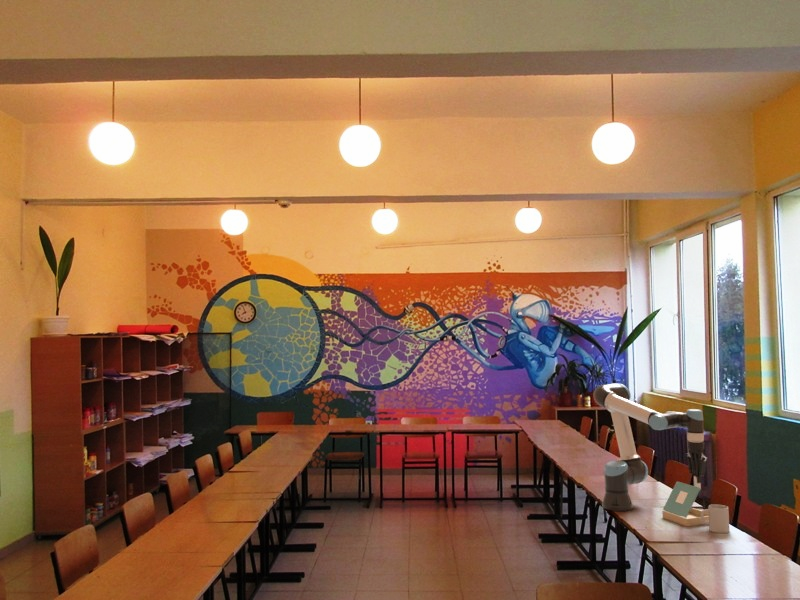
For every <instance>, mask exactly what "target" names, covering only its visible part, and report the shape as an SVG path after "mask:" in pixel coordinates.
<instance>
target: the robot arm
mask: <svg viewBox="0 0 800 600" xmlns="http://www.w3.org/2000/svg"><path fill="white" fill-rule="evenodd" d="M592 396H593V400H594V401H595V403H596V404H597V405H598V406H600V407H601V408H603V409H606V410H607V411H608V412H609V413H610V416H611V419H612V425H613V428H614V433H615V437H616V442H617V446H618V451H619V455H620V457H619V458H618V460H613V461H608V462H607V463H605V465H604V472H603V473H604V488H605V489H604V495H603V500H602V502H601V506H602V508H603V509H604V510H608V511H614V512H628V511H631V510H633V502H632V500H631V496H630V494H629V486H631V485H637V484H640V483H643V482H645V480H646V479H647V477H648V476H649V468H648V465H647V464H646V463H645V462H644V461H643V460H642V458H641V456H640V455H639V454H638V453H637V450H636V449H637V448H636V445H635V444H636V443H635V440H634V437H633V436H634V435H633V431H632V426H631V422H630V419H629V417H630V418H633V419H635V420H638V421H640V422H642V423H645V424H647V425H649V427H651V429H652V430H655V431H663V430H668V429H673V428H674V429H675V428H683V429H686V431H687V432H686V438H687V440H686V441H687V449H688V452H687V453H684V455H685V458H686V460H687V467H688V471H689V474H691V475H692V480H693V486H695V487H699V488H701V489H702V487H701V486H702V477H704V476H705V475H706V469H707V468H706V467H707V462H708V461H709V460H708V459H709V457H708V456H706V455H705V453H704V450H705V442H704V441H705V435H704V433H705V432H704V431H705V430H704V420H705V419H704V414H703V413H704V412H703V411H702V410H701V409H698V408H697V409H696V408H689V409H686V411H685V412H680V411H673V410H671V411H665V413H661V412H659V411H656V410H654V409H651V408H649V407H647V406H644V405H641V404H639V403H638V402H637V403H636V402H634V401H631V400H630V399H631V397H632V396H631V392H630V390H629V388H628V387H627V386H626V385H625V384H622V383H609V384H607V383H606V384H601V385H598V386H597V387H596V388H595V389H594V391H593V395H592Z"/></svg>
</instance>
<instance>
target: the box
mask: <svg viewBox="0 0 800 600" xmlns="http://www.w3.org/2000/svg"><path fill="white" fill-rule="evenodd" d="M661 511H662V513H661V514H662V518H663V519H665V520H668V521H671V522H673V523H676V524H679V525H682V526H684V527H687V528H689V527H695V526H703V525H705V524H704V523H703V522H702V520H701V512H702V511H703V510H700V509H698V508H695V507H691V509H690V511H689V513H688V515H687V517H686V518H685V517H682V516H679V515H677V514H674V513H671V512H668V511H665V510H663V509H662V510H661ZM703 519H704V521H709V513H704V515H703Z"/></svg>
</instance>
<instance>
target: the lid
mask: <svg viewBox="0 0 800 600" xmlns="http://www.w3.org/2000/svg"><path fill="white" fill-rule="evenodd" d="M701 490H702V487H701V488H699V487H695V486H694V485H691V484H688V483H685V482H681V481H676V482H675V484H674V486H673V488H672V490H671V492H670V494H669V496H668V498H667V501H665V502H666V503H665V504H664V506H663V508H662V511H663V510H665V511H668V512H671V513H674V514H677V515H679V516H682V517H685V518H686V517H687V515H688V513H689V511H690V509H691V508H693V505H694V503H695V501H696V499H697V497H698V495H699V493H700V491H701Z"/></svg>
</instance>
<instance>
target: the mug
mask: <svg viewBox="0 0 800 600" xmlns="http://www.w3.org/2000/svg"><path fill="white" fill-rule="evenodd" d="M701 511H702V512H701V520H702V522H703V523H704V525H707V526H708V529H709V531H710V532H712V533H716V534H728V533H729V532H730V513H729V506H727V505H723V504H715V503H714V504H712V503H711V504H709V505H708V508H706V509H702V510H701ZM704 513H709V521H704V519H703V515H704Z"/></svg>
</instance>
